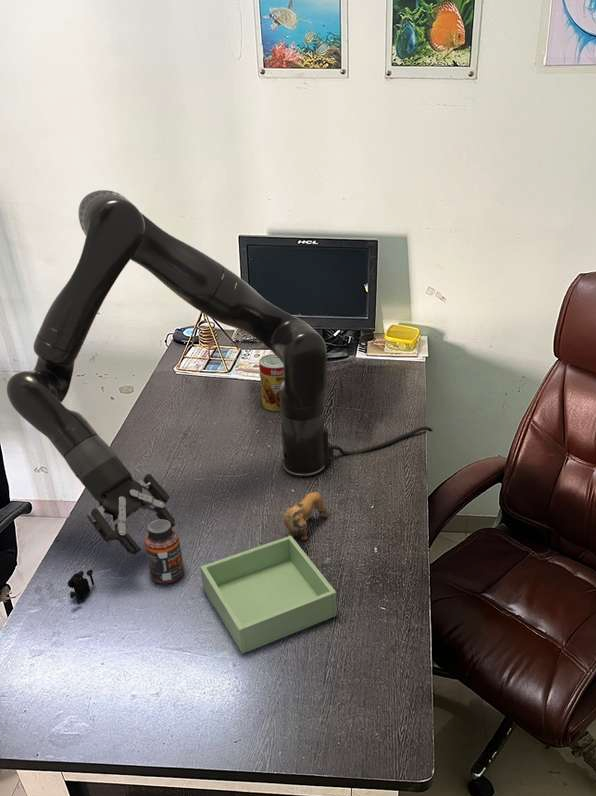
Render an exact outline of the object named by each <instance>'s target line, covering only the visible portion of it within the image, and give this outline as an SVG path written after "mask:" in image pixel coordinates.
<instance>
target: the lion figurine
mask: <svg viewBox="0 0 596 796" xmlns="http://www.w3.org/2000/svg"><path fill="white" fill-rule="evenodd" d="M314 509H316V510H317V511H320V512H322V513H321V515H320V516H321V518H327V517H328V512H327V506H326V505H325V504H324V501H323V497H322V495H321V494H320V492H318V491H312V492H308V493H307V494H306V495H305V496H304V498H303V499H302V500H301V501H300V502H299V503H298V502H297V503H294V504H292V505H289V506H288V507H286V508H285V511H284V515H283V523H284V526H285V527H286V529H287V530H289V533H288V534H287V537H288V536H292V537H293V538H295V534H296V533H295V532H299V531H301V532H300V540H301V541H307V540H308V534H307V527H308V525H307V524H308V523H307V521H308V520H310V517H311V515H312V513H313V511H314Z"/></svg>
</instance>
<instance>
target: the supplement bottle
mask: <svg viewBox="0 0 596 796" xmlns="http://www.w3.org/2000/svg"><path fill="white" fill-rule="evenodd" d="M144 548H145V552H146V557H147V562H148V567H149V573H150V577H151V578H152V580H153V581H154V582H156V583H158V584H171V583H174V582H176V581H178V580H179V579H181V578H182V577H183V575H184V572H185V568H184V562H183V556H182V549H181V542H180V536H179V534H178V532H177V531H176V530H175V529H173V527H172V528H171V523H170V522H169V521H167V520H163V519H155V520H153V521H151V522H150V523H148V525H147V533H146V534H145V536H144Z"/></svg>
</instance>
